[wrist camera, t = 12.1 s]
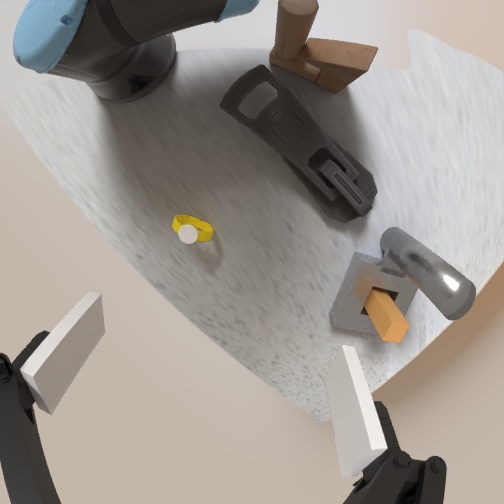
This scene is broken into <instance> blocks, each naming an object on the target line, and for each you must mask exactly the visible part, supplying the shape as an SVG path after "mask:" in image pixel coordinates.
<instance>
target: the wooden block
mask: <svg viewBox="0 0 504 504" xmlns="http://www.w3.org/2000/svg"><path fill="white" fill-rule="evenodd" d="M318 8H319V6H318V2H317V0H279V1H278V12H277V24H276V37H275V45H274V47H273V49H272V50H271V52H270V54H269V62H270V63H272V64H274V65H277V66H279V67H281V68H284V69H286V70H288V71H290V72H293V73H295V74H297V75H299V76H301V77H303V78H305V79H307V80H309V81H311V82H314V81H315V83H316V84H317V85H319V86H321V87H323V88H325V89H327V90H329V91H330V92H332V93H334V94H336V93H337V92H339V91H340V90H341V89H343V88H344V87H345V86H347V85H348V84H350V83H352V82H353V81H354V80H356V79H357V78H359V77H360V76H361V75H363V74H364V73H366V72H367V71H368V69H369V67H370V65H371V63H372V61H373V59H374V57H375V54H376V53H377V50H378V48H377V47H374V46H368V45H363V44H357V43H351V42H344V41H337V40H329V39H317V38H309V39H308V40H307V37H308V34H309V32H310V29H311V27H312V24H313V21H314V19H315V16H316V14H317V11H318ZM306 40H307V42H306ZM305 42H306V43H305Z"/></svg>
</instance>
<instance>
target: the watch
mask: <svg viewBox="0 0 504 504" xmlns="http://www.w3.org/2000/svg"><path fill="white" fill-rule="evenodd" d="M181 223H182V224H183V225H182V224H181ZM172 228H173V230H174V231H175V232H177V233H178V236H179V238H180V240H181V241H182V242H184V243H186V244H191V243H194V242H195V241H200V242H201V241H202V242H204V241H209V240H210V239H211V237H212V235H213V232H214V229H213V227H212V226H211V225H210V224H209V223H207V222H205V221H202V220H200V219H197V218H195V217H192V216H190V215H177V216H175V218H174V220H173V223H172ZM197 228H199V229H201V230H203V231H205V232H201V231H198V229H197Z"/></svg>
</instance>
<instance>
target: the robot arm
mask: <svg viewBox="0 0 504 504" xmlns="http://www.w3.org/2000/svg"><path fill="white" fill-rule="evenodd" d="M259 1H260V0H30V1H29V2H28V4H27V5H26V7H25V9H24V11H23V13H22V14H21V16H20V18H19V21H18V23H17V26H16V30H15V33H14V40H13V52H14V56H15V59H16V61H17V62H18V63H19V64H20V65H21V66H23V67H25V68H28V69H32V70H35V71H36V72H37V73H41V74H42V73H48V74H53V75H58V76H62V77H67V78H71V79H75V80H79V81H84V82H86V84H87V85H88V86H89V87H90V88H91V89H92V90H93V91H94V92H95V93H96V94H97V95H98V96H100V97H102V98H104V99H107V100H110V101H115V102H129V101H133V100H136V99H139V98H141V97H143V96H145V95H147V94H148V93H150V92H151V91H153V90H154V89H155V88H156V87H157V86H158V85H159V84H160V83H161V82H162V81H163V80H164V79H165V77H166V76H167V74H168V73H169V71H170V69H171V67H172V65H173V62H174V59H175V54H176V43H175V39H174V36H173V34H172V33H173V32H176V31H179V30H183V29H186V28H190V27H193V26H197V25H200V24H204V23H208V22H212V21H213V22H215V23H217V22H220V21H222V20H223V19H226V18H231V17H235V16H239V15H244V14H247V13H249V12H251V11H252V10H253V9H254V8H255V7H256V6H257V5H258V3H259ZM104 333H105V327H104V318H103V308H102V295H101V294H100V293H97V292H94V291H91V290H90V291H89V292H88V293H87V294H86V295H85V296H84V297H83V298H82V299H81V300H80V301H79V302H78V303H77V304H76V305H75V306H74V307H73V309H72V310H71V311H70V312H69V313H68V314H67V315H66V316H65V317H64V318H63V319H62V321H61V322H60V323H59V324H58V325H57V326H56V327H55V328H54V329H53V330H52V332H51V333H50V332H47V331H45V330H44V331H43V332H41V333H39V334H37V335H36V336H35V337H34V338H33V339H32V341H31V343H29V344H28V345H27V346H26V348H24V350H23V351H22V352H21V353H20V354H19V355H18V356H17V358H16V359H15V360H14V361H13V362H12V364H11V362H10V360H9V358H8V357H7V355H5V354H3V353H0V462H1V466H2V471H3V475H4V479H5V483H6V487H7V491H8V494H9V498H10V501H11V504H61V502H60V500H59V497H58V495H57V492H56V489H55V487H54V484H53V481H52V478H51V475H50V472H49V469H48V466H47V463H46V459H45V456H44V452H43V449H42V445H41V441H40V437H39V433H38V428H37V424H36V419H35V414H34V410H33V406H32V405H33V403H34V402H36V404H37V405H38V407H39V408H40V409H41V410H43V411H45V412H47V413H49V414H50V415H52V413H53V412H54V410H55V408H56V407H57V405H58V403H59V402H60V400H61V398H62V397H63V395H64V394H65V392H66V390H67V389H68V387H69V386H70V384H71V382H72V381H73V379H74V378H75V376H76V375H77V373H78V372H79V370H80V368H81V367H82V366H83V364H84V362H85V361H86V359H87V358H88V357H89V355H90V354H91V352H92V351H93V349H94V348H95V346H96V345H97V343H98V342H99V341H100V339H101V338H102V336H103V335H104ZM324 383H325V388H326V393H327V398H328V403H329V408H330V414H331V419H332V425H333V430H334V436H335V442H336V447H337V454H338V459H339V466H340V472H341V477H348V476H356V475H357V474H359V473H360V472H361V471H362V472H363V477H362V478H361V479H359V480H358V481H357V482H355V483H354V484H353V486H355V485H356V486H355V488H354V489H353V491H352V492H351V494H350V495H349V496H348V498H347V499H346V500H345V502H344V503H343V504H443V500H444V492H445V483H446V470H447V468H446V463H445V461H444V460H443V459H442V458H440V457H438V456H432V457H430V458H429V459H427V460H426V461H421V460H415V459H411V457H410V455H409V454H407V453H406V452H404V451H401V449H400V447H399V444H398V441H397V437H396V434H395V431H394V428H393V426H392V422H391V419H390V417H389V413H388V411H387V408H386V407H385V406H384V405H383V403H382V402H380V401H379V402H378V401H377V402H375V401H373V399H372V396H371V393H370V390H369V387H368V384H367V381H366V379H365V376H364V373H363V370H362V367H361V364H360V361H359V359H358V356H357V353H356V350H355V348H354V346H346V345H341V347H340V349H339V351H338V353H337V355H336V357H335V359H334V361H333V363H332V365H331V367H330V369H329V370H328V372H327V374H326V376H325V378H324Z"/></svg>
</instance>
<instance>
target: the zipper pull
mask: <svg viewBox="0 0 504 504" xmlns="http://www.w3.org/2000/svg"><path fill="white" fill-rule="evenodd" d="M265 81H267V82H268V83H270V84H271V85H272V86H273V87H274V88H275V89H276V90H277V92H278V96H277V97H276V98H275V99H274V100H273V101H272V102H271V103H270V104H269V105H268V106H267V107H266V108H265V109H264V110H263V111H262V112H261V113H260V114H259V115H258V116H257V117H256V118H255V119H248V118H247V117H246V116H244V115H243V114H242V113H241V112H240V111H239V110H238V107H239V105H240V103H241V101H242V100H243V99H244V98H245V97H246V96H247V95H248V94H249V93H250V92H251V91H252V90H253V89H254V88H255V87H256V86H257V85H259V84H261V83H263V82H265ZM220 108H221V109H223V110H224V111H225V112H227V113H228V114H230V115H231V116H232V117H234V118H235V119H236V120H238V121H239V122H240V123H242V124H243V125H244V126H246V127H247V128H249V129H250V130H251V131H253V132H254V133H255V134H257V135H258V136H259V137H261V138H262V139H263V140H264V141H266V142H267V143H268V144H269V145H271V146H272V147H273V148H274V149H276V150H277V151H278V152H279V153H281V154H282V155H283V156H284V161H285V162H286V163H287V165H288V166H289V167H290V168H291V169H292V171H293V172H294V173H295V174H296V175H297V177H298V178H299V179H300V180H301V182H302V183H303V184H304V185H305V186H306V188H307V189H308V190H309V192H310V193H311V194H312V195H313V197H314V198H315V199H316V201H317V202H318V203H319V205H320V206H321V207H322V209H323V210H324V211H325V213H326V214H327V215H328V216H329V217H331V218H333V219H336V220H338V221H340V222H343V223H347V222H349V221H351V220H353V219H355V218H357V217H359V216H361V217H364V216H365V215H366V214H367V213H368V212H369V211H370V210H371V209H372V205H371V203H372V201H373V199H374V197H375V195H376V194H377V188H376V185H375V182H374V179H373V176H372V174H371V173H370V172H369V171H368V170H367V169H366V168H364V167H363V166H362V165H361V164H360V163H359V162H358V161H357V160H356V159H354V158H353V157H352V156H351V155H350V154H349V153H348V152H347V151H346V150H344V149H343V148H342V147H341V146H340V145H339V144H338V143H336V142H335V141H334V140H333V139H332V138H330V137H329V136H328V135H327V134H326V133H324V132H323V130H322V129H321V128H320V127H319V126H318V124H317V123H316V122H315V121H314V120H313V118H312V117H311V116H310V115H309V114H308V112H307V111H306V110H305V109H304V108H303V107H302V106H301V104H300V103H299V102H298V101H297V100H296V99H295V98H294V96H293V95H292V94H291V93H290V92H289V91H288V90H287V89H286V88H285V86H284V85H283V84H282V83H281V82H280V81H279V80H278V79H277V78H276V77H275V76H274V75H273V74H272V73H271V72H270V71H269V70H268V69H267V68H266V67H265V66H264V65H259V66H257V67H255V68H253V69H251V70H249V71H248V72H247V73H245V74H244V75H243V76H242V77H240V78H239V79H238V80H237V81H236V82H235V83H234V84H233V85H232V86H231V88H230V89H229V90H228V91H227V93H226V94H225V96H224V98H223V99H222V101H221V103H220Z"/></svg>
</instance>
